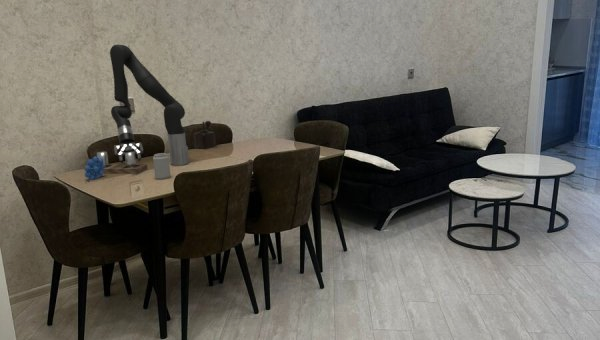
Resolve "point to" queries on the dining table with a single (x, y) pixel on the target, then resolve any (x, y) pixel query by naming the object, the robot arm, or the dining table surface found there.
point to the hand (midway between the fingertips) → (130, 161)
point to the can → (161, 166)
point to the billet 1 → (104, 157)
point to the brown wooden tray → (125, 169)
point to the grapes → (94, 168)
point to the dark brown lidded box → (204, 138)
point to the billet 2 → (130, 159)
